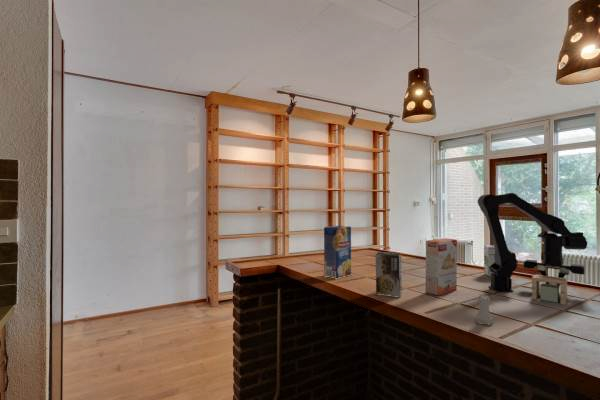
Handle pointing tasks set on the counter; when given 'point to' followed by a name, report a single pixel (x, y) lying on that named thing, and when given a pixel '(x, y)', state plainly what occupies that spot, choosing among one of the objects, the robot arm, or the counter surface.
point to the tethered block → (549, 292)
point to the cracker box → (441, 266)
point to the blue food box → (337, 251)
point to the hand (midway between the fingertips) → (553, 288)
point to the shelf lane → (558, 280)
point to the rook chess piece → (484, 310)
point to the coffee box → (388, 273)
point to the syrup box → (488, 258)
